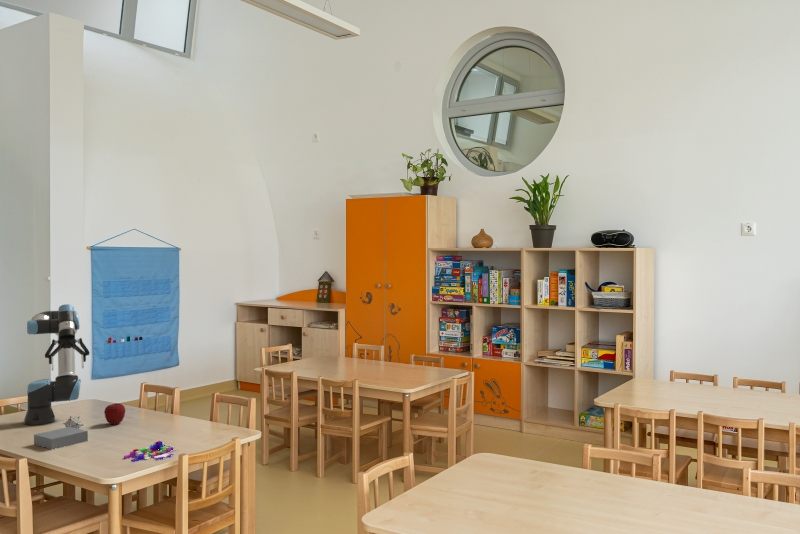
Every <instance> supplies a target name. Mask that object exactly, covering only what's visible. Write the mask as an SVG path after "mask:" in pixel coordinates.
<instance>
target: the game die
mask: <svg viewBox="0 0 800 534" xmlns="http://www.w3.org/2000/svg"><path fill="white" fill-rule="evenodd" d="M80 417H81V416H78V417H72V415H71V416H69V419H68V420H67V421H66V422H64V423H62V425H65V428H66V427H73V428H78V429H81V427H83V426H84V424H82V422H81V420H80Z"/></svg>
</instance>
